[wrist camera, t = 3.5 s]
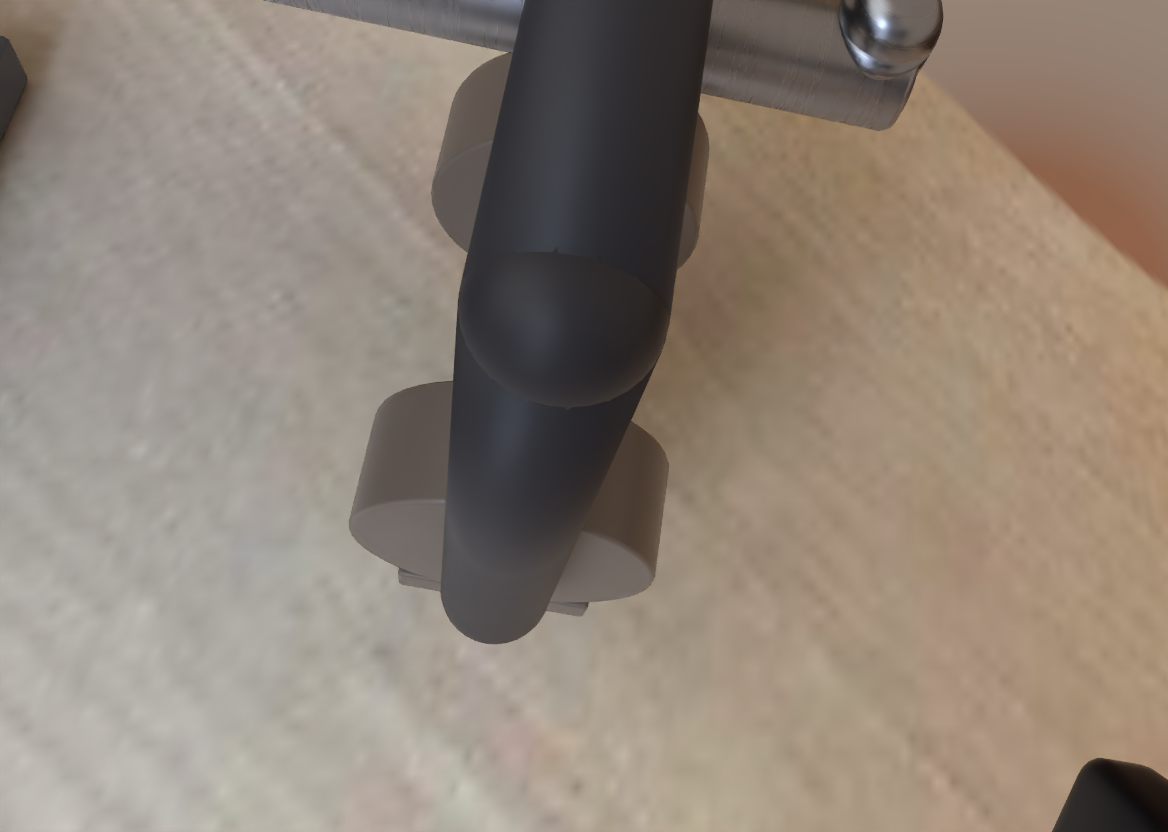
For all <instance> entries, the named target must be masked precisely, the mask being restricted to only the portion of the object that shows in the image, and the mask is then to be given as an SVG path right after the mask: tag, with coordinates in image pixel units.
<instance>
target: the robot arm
mask: <svg viewBox="0 0 1168 832" xmlns="http://www.w3.org/2000/svg"><path fill="white" fill-rule="evenodd" d="M1052 832H1168V780H1167V779H1166V778H1164V777H1163V776H1161V775H1160V774H1159V773H1157V772H1156V771H1154V770H1153V769H1151V768H1149V767H1146V766H1143V765H1139V764H1134V763H1128V762H1122V761H1116V760H1111V759H1104V758H1096V759H1094V760H1091V761H1089V762H1088V763H1087V764H1085V765H1084V766H1083V767H1082V769H1081V771H1080V773H1079V774H1078V776H1077V778H1076V781H1075V783H1074V785H1073V787H1072V789H1071V792H1070V794H1069V796H1068V798H1067V800H1066V803H1065V805H1064V807H1063V809H1062V811H1061V813H1060V816H1059V818H1058V820H1057V822H1056V824H1055V827H1054V829H1053V831H1052Z"/></svg>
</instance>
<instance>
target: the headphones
mask: <svg viewBox="0 0 1168 832" xmlns="http://www.w3.org/2000/svg"><path fill="white" fill-rule="evenodd" d="M712 6H713V0H525V1H524V5H523V10H522V14H521V19H520V23H519V28H518V32H517V37H516V41H515V45H514V50H513V53H506V54H504V55H501V56H498V57H496V58H494V59H492V60H490V61H488V62H486V63H484V64H483V65H481V66H480V67H479V68H477V69H476V70H475V71H473V72H472V73H471V74H470V75H469V76H468V77H467V78H466V80H465V81H464V82H463V83H462V84H461V86H460V87H459V89H458V91H457V92H456V94H455V97H454V100H453V103H452V106H451V110H450V114H449V119H448V123H447V127H446V131H445V135H444V139H443V143H442V147H441V151H440V155H439V159H438V163H437V167H436V171H435V175H434V179H433V184H432V191H431V194H432V204H433V207H434V210H435V214H436V216H437V218H438V220H439V222H440V224H441V226H442V227H443V228H444V230H445V231H446V232H447V234H448V235H449V236H450V237H451V238H452V239H453V240H454V241H455V242H456V243H457V244H458V245H459V246H460V247H461V248H462V249H464V250H465V251H466V252H467V253H468V254H467V259H466V263H465V268H464V272H463V277H462V281H461V286H460V291H459V298H458V310H457V326H456V343H455V359H454V375H453V381H446V382H435V383H429V384H423V385H418V386H414V387H411V388H407V389H404V390H402V391H400V392H397V393H395V394H393V395H392V396H390V397H389V398H387V399H386V400H385V401H384V402H383V403H382V404H381V406H380V407H379V408H378V410H377V412H376V414H375V418H374V422H373V426H372V430H371V434H370V438H369V442H368V446H367V450H366V454H365V458H364V462H363V467H362V471H361V475H360V479H359V483H358V487H357V491H356V495H355V499H354V503H353V507H352V511H351V515H350V519H349V528H350V531H351V534H352V536H353V537H354V538H355V540H356V541H357V542H358V543H359V544H360V545H361V546H363V547H364V548H365V549H367V550H368V551H370V552H371V553H372V554H374V555H376V556H378V557H379V558H381V559H383V560H385V561H387V562H389V563H391V564H393V565H395V566H397V567H399V570H398V575H399V583H401V584H402V585H408V586H413V587H419V588H424V589H430V590H435V591H441V599H442V603H443V607H444V609H445V612H446V614H447V616H448V617H449V619H450V621H451V622H452V623H453V625H454V626H455V627H456V628H457V629H458V630H459V631H460V632H462V633H463V634H464V635H465V636H467V637H469V638H471V639H473V640H475V641H478V642H482V643H486V644H502V643H508V642H511V641H514V640H517V639H519V638H520V637H522V636H524V635H526V634H527V633H528V632H529V631H531V630H532V629H533V628H534V627H535V626H536V625H537V624H538V622H539V621H540V620H541V618H542V617H543V615H544V613H545V611H551V612H557V613H562V614H568V615H573V616H582V615H583V614H584V612H585V611H586V609H587V607H588V604H589V602H597V601H607V600H614V599H620V598H625V597H629V596H632V595H635V594H638V593H640V592H642V591H644V590H645V589H647V588H648V587H649V586H650V585H651V583H652V582H653V579H654V577H655V572H656V564H657V556H658V548H659V541H660V533H661V525H662V517H663V509H664V502H665V494H666V486H667V478H668V468H669V463H668V460H667V457H666V454H665V452H664V450H663V448H662V447H661V445H660V444H659V443H658V442H657V441H656V440H655V439H654V438H653V437H652V436H651V435H650V434H649V433H647V432H646V431H645V430H644V429H642V428H641V427H639V426H638V425H636V424H635V423H633V422H631V419H632V417H633V415H634V412H635V410H636V408H637V406H638V403H639V401H640V399H641V397H642V394H643V392H644V390H645V388H646V386H647V383H648V381H649V379H650V377H651V374H652V372H653V370H654V368H655V365H656V363H657V361H658V359H659V356H660V354H661V352H662V349H663V346H664V344H665V340H666V335H667V330H668V327H669V323H670V315H671V308H672V301H673V293H674V286H675V278H676V271H677V269H678V268H680V267H681V266H682V265H683V264H684V263H685V262H686V261H687V259H688V258H689V257H690V255H691V254H692V252H693V250H694V248H695V247H696V243H697V240H698V236H699V229H700V221H701V213H702V205H703V197H704V190H705V182H706V174H707V166H708V158H709V139H708V134H707V131H706V128H705V125H704V122H703V120H702V118H701V116H700V115H699V113H698V109H699V102H700V94H701V87H702V79H703V72H704V65H705V57H706V50H707V43H708V35H709V28H710V20H711V13H712Z"/></svg>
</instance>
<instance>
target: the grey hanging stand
mask: <svg viewBox="0 0 1168 832" xmlns="http://www.w3.org/2000/svg"><path fill="white" fill-rule="evenodd" d="M26 82H27V76H26V74H25V72H24V70H23V68H22V65H21V63H20V61H19V59H18V57H17V55H16V53H15V51H14V49H13V47H12V45H11V43H10V41H9V40H8V39H7V38H6V37H4V36H0V141H1V138H2V136H3V134H4V131H5V129H6V127H7V125H8V122H9V120H10V118H11V116H12V113H13V111H14V109H15V107H16V104H17V102H18V100H19V98H20V95H21V93H22V91H23V89H24V86H25V84H26Z"/></svg>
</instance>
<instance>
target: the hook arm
mask: <svg viewBox="0 0 1168 832" xmlns="http://www.w3.org/2000/svg"><path fill="white" fill-rule="evenodd" d="M264 1H269V2H274V3H278V4H283V5H288V6H293V7H297V8H302V9H307V10H311V11H316V12H321V13H326V14H330V15H335V16H340V17H344V18H349V19H354V20H358V21H363V22H368V23H373V24H377V25H382V26H387V27H391V28H396V29H401V30H406V31H410V32H415V33H420V34H424V35H429V36H434V37H439V38H443V39H448V40H453V41H457V42H462V43H467V44H472V45H476V46H481V47H486V48H490V49H495V50H500V51H505V52H509V53H513V50H514V45H515V41H516V37H517V32H518V28H519V23H520V19H521V14H522V10H523V5H524V1H525V0H264ZM942 22H943V10H942V2H941V0H713V6H712V13H711V20H710V28H709V35H708V43H707V50H706V57H705V65H704V72H703V79H702V87H701V93H702V94H707V95H712V96H716V97H721V98H726V99H731V100H735V101H740V102H745V103H749V104H754V105H759V106H764V107H768V108H773V109H778V110H782V111H787V112H792V113H797V114H801V115H806V116H811V117H815V118H820V119H825V120H830V121H834V122H839V123H844V124H848V125H853V126H858V127H863V128H867V129H872V130H877V131H881V130H886V129H889V128H890V127H891V126H892V125H893V124H894V123H895V122H896V120H897V119H898V117H899V115H900V114H901V112H902V110H903V109H904V107H905V105H906V103H907V100H908V98H909V96H910V93H911V91H912V88H913V85H914V83H915V79H916V76H917V75H918V73H919V71H920V70H921V68H922V66H923V65H924V63H925V61H926V60H927V58H928V57H929V55H930V53H931V51H932V50H933V48H934V47H935V45H936V42H937V40H938V38H939V36H940V33H941V28H942Z"/></svg>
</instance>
